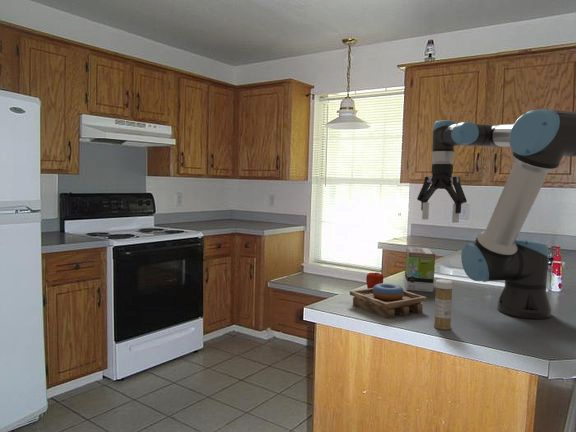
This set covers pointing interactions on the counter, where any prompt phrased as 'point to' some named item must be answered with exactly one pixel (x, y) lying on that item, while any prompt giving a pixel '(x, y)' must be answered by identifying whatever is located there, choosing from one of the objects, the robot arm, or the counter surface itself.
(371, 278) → the red bell pepper
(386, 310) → the wooden pallet tray
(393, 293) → the doughnut
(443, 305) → the sprinkles bottle
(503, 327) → the counter surface
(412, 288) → the tea box
